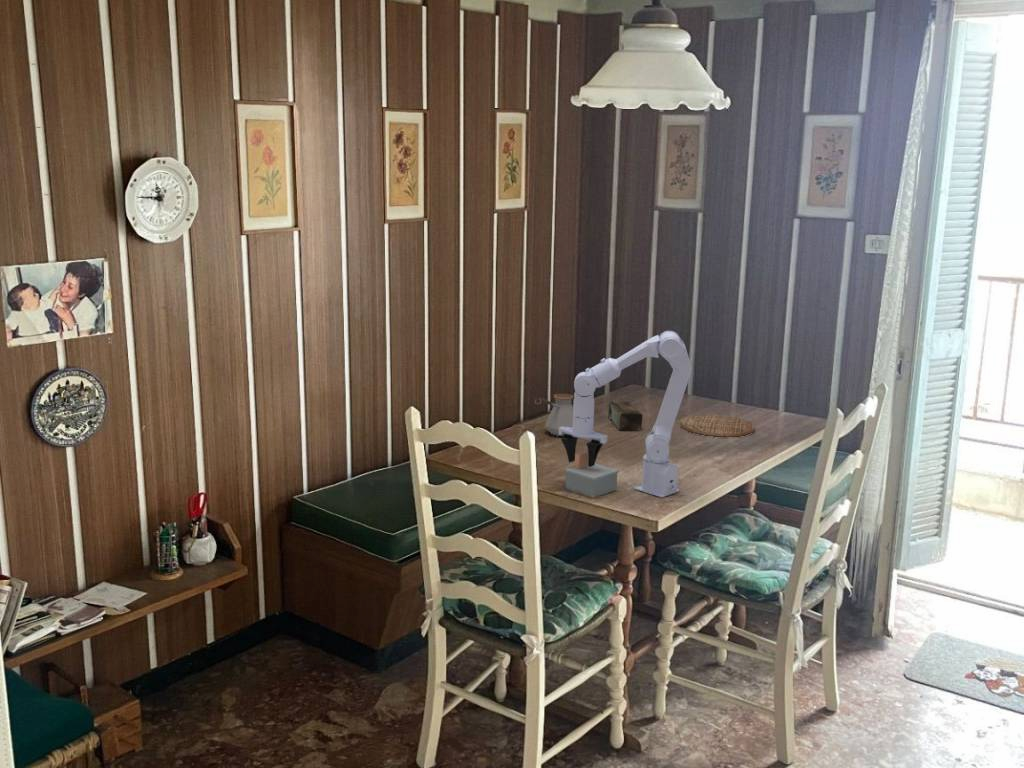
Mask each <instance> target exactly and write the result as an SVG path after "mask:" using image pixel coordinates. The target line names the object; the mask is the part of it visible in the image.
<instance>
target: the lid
mask: <svg viewBox="0 0 1024 768" xmlns="http://www.w3.org/2000/svg"><path fill="white" fill-rule="evenodd" d="M588 458H589V454H588V451H586V450H583V451H579V452H575V461H574V466H572V467H569V468H565V469H564V472H565V473H566V472H569V473H572V474H575V475H578V476H581V477H585V478H588V479H591V480H597V479H600V478H603V477H606V476H609V475H612V474H616V473H617V474H619V470H618V469H615V468H611V467H608V466H605V465H602V464H598V463H595V465H594V466H592V467H589V465H588Z"/></svg>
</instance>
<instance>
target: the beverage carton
mask: <svg viewBox="0 0 1024 768" xmlns="http://www.w3.org/2000/svg"><path fill="white" fill-rule="evenodd" d="M607 414H608V415H607V417H608V419H609V418H610V419H611V420H612V421H611V420H610V419H609V420H610V421H611V423H613V425H614V426H615V427H616V428H617V430H618V431H619V432H641V431H642V424H643V414H642V413H641V412H640V411H639V410H638V409H637V408H636V407H635V406H634V405H633V404H632V403H631V402H630V401H618V400H613V401H609V402H608V413H607Z"/></svg>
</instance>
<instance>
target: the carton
mask: <svg viewBox="0 0 1024 768" xmlns="http://www.w3.org/2000/svg"><path fill="white" fill-rule="evenodd" d="M617 488H618V473H616V474H612V475H609V476H606V477H603V478H600V479H597V480H591V479H588V478H585V477H581V476H578V475H575V474H572V473H569V472H565V488H564V489H565V490H568V491H570V492H573V493H576V494H579V495H582V496H584V497H585V496H586V497H588V498H592V499H596V498H597V497H600V496H604V495H606V494H610V493H612V491H613V492H615V490H616V491H617ZM609 492H610V493H609Z"/></svg>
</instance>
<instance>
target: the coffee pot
mask: <svg viewBox="0 0 1024 768" xmlns="http://www.w3.org/2000/svg"><path fill="white" fill-rule="evenodd" d="M553 398H554V399H555V400H554V401H555V403H553V402H552V401H549V400H548V399H544V398H543V397H542V398H541V397H538V398H537V399H535V400H534V403H535V404H536V405H540V404H541V403H544V404H546V405H549V406H552V409H551V411H550V413H549V416H548V417H547V419H546V422H545V423H544V424H545V425H544V426H545V429H546V430H547V431H548V432H549V433H550V435H552V434H553V435H552V436H554V435H556V436H555V437H559V436H564V435H559V428H560V427H570V428H573V403H572V400H573V399H574V395H572V394H568V393H555V394H553ZM536 400H538V401H540V402H539V403H537V402H536Z"/></svg>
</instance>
